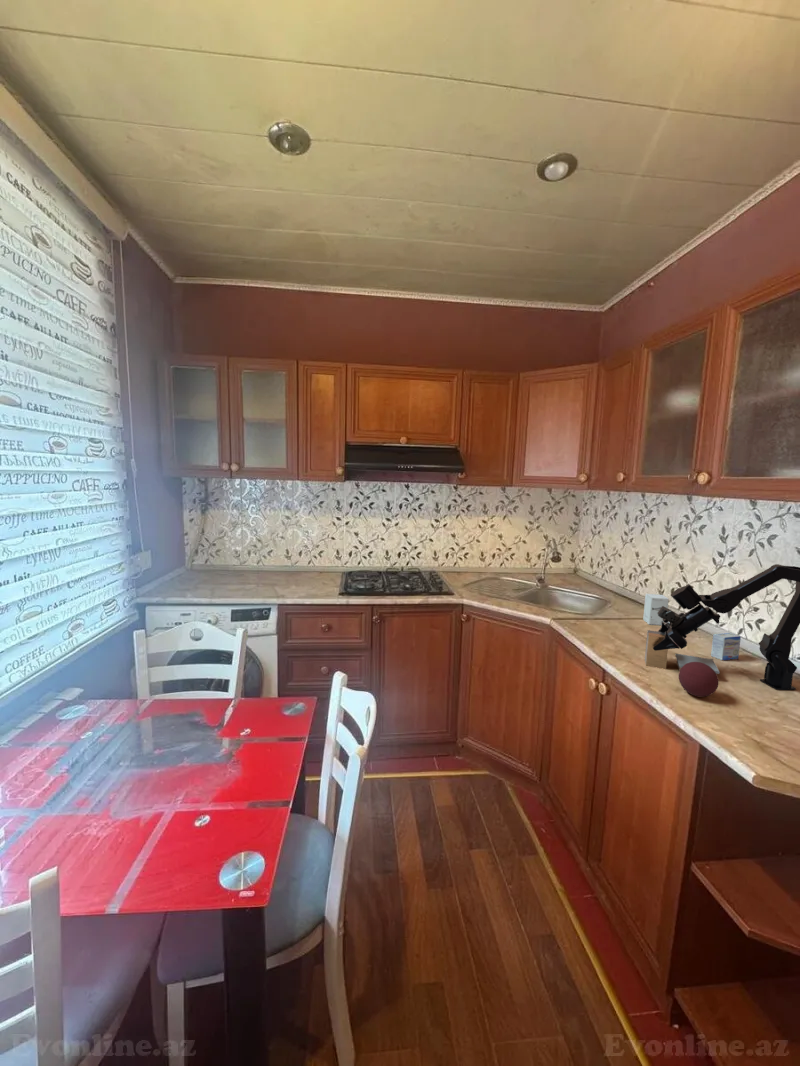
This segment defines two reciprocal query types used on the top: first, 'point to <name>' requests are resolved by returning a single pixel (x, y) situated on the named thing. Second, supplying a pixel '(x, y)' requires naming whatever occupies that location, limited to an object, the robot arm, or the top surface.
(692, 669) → the decorative ball
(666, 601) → the supplement box
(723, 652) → the medicine box
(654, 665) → the two-tone metal block
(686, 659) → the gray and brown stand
